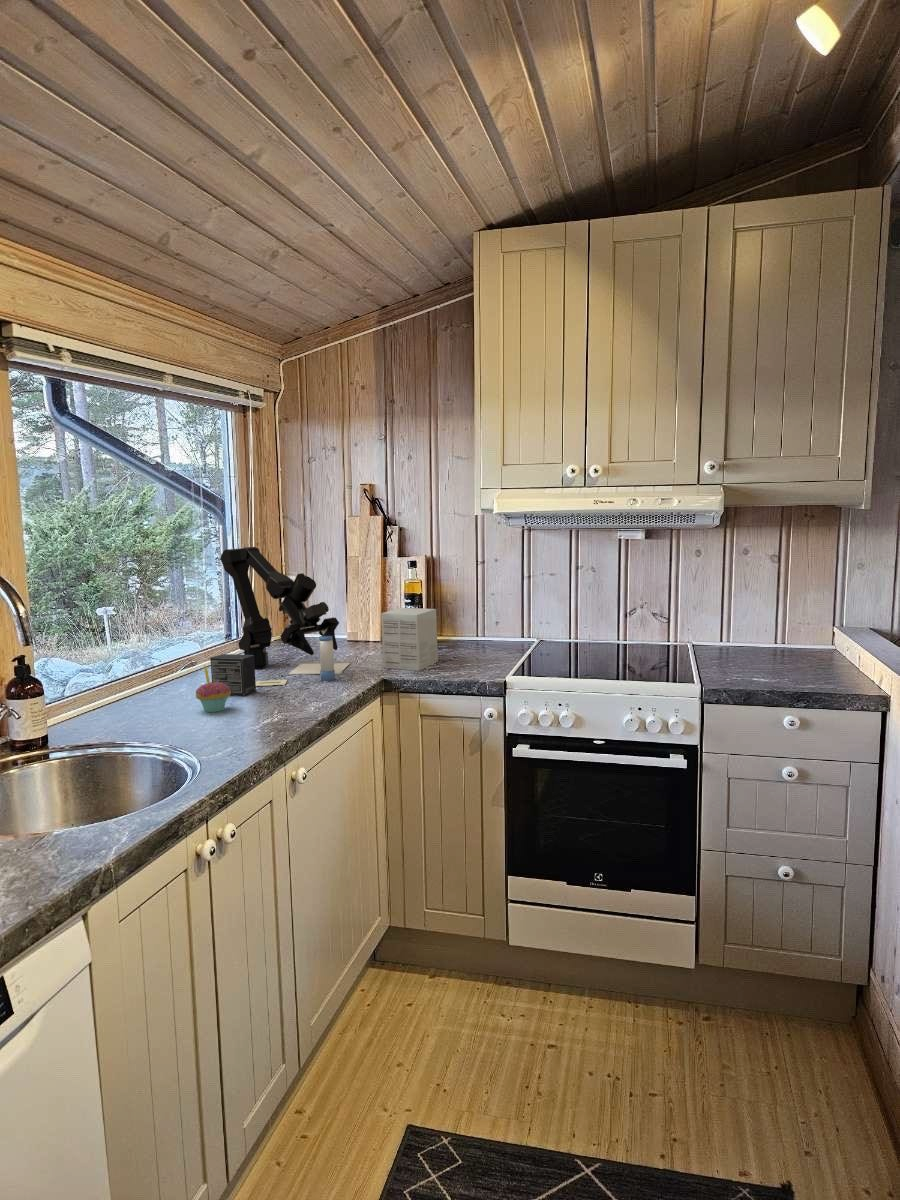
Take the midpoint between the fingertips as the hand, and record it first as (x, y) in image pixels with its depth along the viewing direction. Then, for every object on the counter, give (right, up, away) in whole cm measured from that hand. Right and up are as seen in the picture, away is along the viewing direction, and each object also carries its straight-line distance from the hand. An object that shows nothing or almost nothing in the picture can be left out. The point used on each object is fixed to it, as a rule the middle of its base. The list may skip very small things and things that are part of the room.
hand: (324, 651), depth 228 cm
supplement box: (+24, -6, +19) cm, 31 cm away
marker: (+1, -8, +1) cm, 8 cm away
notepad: (-4, -7, +17) cm, 19 cm away
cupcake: (-23, -13, -29) cm, 40 cm away
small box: (-23, -11, -12) cm, 28 cm away
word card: (-15, -9, -2) cm, 18 cm away
